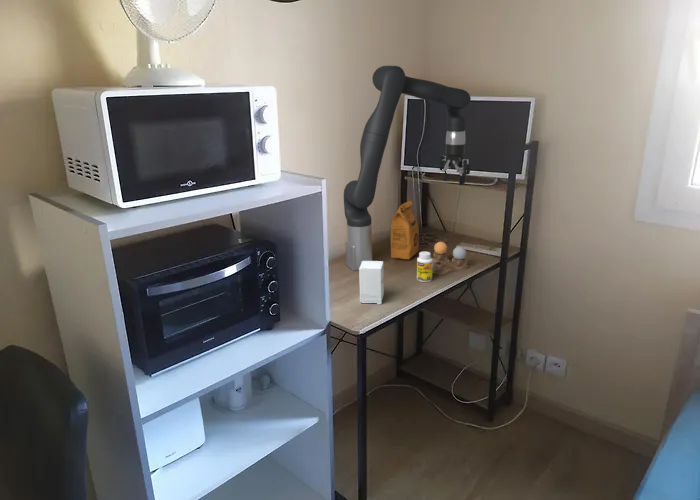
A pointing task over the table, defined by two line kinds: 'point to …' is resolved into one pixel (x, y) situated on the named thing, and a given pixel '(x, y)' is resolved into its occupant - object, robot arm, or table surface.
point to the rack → (449, 266)
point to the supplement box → (371, 282)
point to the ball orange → (440, 248)
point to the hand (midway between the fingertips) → (453, 183)
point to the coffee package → (404, 233)
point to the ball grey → (459, 253)
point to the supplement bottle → (424, 267)
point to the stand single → (440, 257)
